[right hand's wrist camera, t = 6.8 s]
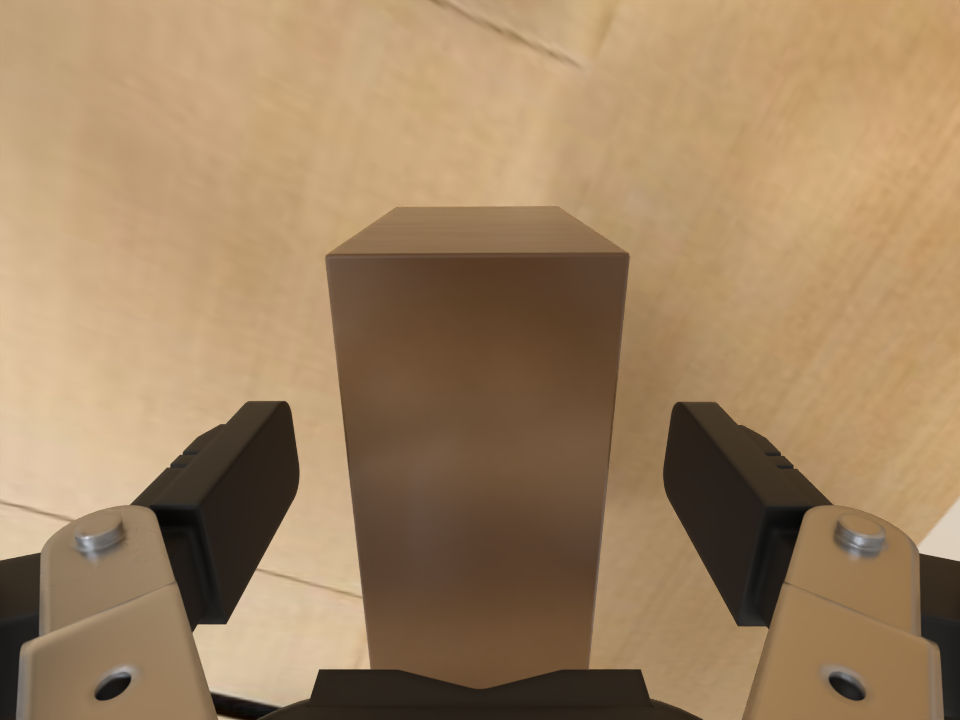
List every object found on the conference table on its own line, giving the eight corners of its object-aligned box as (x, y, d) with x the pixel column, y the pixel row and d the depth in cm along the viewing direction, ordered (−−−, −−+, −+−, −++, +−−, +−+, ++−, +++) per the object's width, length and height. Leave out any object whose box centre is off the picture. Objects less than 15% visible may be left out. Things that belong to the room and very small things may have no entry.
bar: (394, 206, 17) (323, 254, 9) (559, 206, 17) (631, 252, 9) (424, 702, 25) (401, 952, 17) (535, 701, 25) (561, 950, 17)
